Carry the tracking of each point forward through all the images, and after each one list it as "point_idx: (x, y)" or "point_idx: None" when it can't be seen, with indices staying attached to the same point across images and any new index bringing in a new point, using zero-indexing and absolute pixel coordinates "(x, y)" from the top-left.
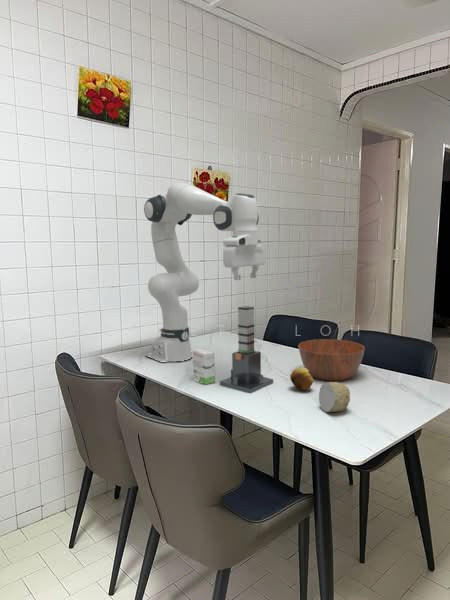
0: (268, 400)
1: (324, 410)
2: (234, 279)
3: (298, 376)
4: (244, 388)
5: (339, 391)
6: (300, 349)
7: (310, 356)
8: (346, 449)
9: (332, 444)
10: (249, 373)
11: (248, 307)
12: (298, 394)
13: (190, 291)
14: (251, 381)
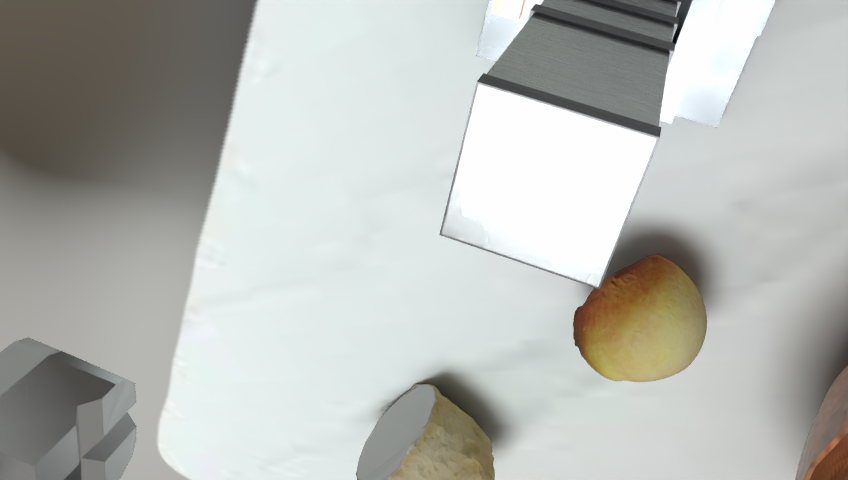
0: (427, 167)
1: (406, 393)
2: (23, 346)
3: (575, 328)
4: (487, 10)
5: None
6: None
7: (838, 413)
8: (192, 442)
9: (197, 413)
10: None
11: (526, 231)
12: (566, 280)
13: None
14: None
